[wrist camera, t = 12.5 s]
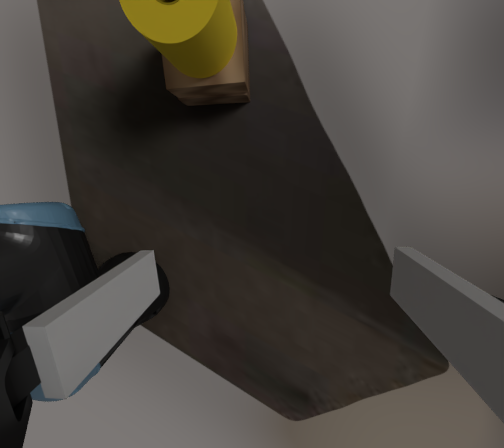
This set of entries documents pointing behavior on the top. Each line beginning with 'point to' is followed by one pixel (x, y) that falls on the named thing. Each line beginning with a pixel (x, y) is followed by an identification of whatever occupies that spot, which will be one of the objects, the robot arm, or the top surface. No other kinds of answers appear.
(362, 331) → the top surface
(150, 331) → the top surface
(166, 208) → the top surface
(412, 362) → the top surface
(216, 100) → the tower block bottom
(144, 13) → the yellow toilet paper roll
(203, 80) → the tower block top
